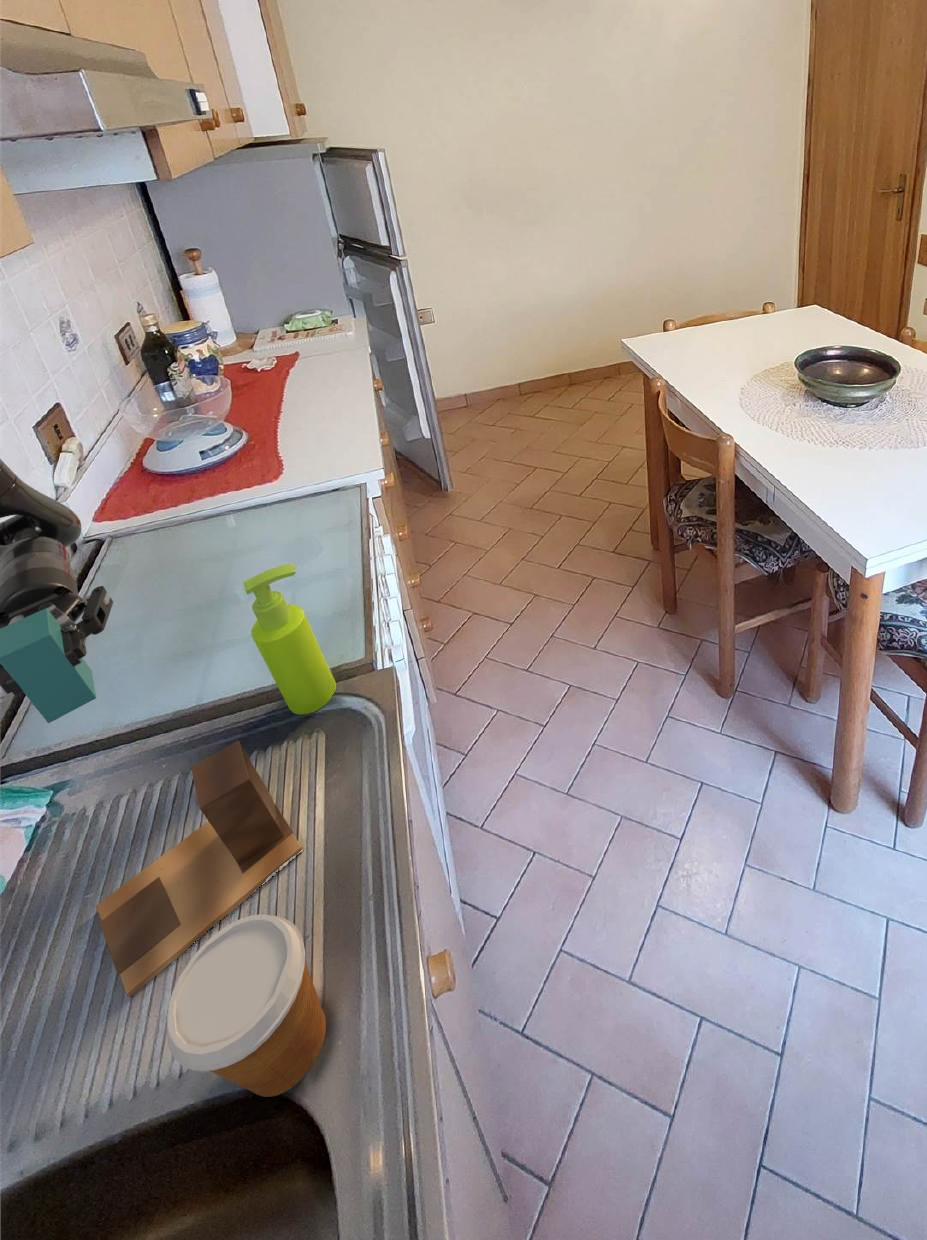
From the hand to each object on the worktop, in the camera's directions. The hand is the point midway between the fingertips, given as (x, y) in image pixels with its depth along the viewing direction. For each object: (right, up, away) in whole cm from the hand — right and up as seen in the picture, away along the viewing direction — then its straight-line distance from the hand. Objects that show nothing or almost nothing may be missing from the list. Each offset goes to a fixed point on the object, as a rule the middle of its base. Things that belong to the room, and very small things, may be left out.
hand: (44, 672), depth 71 cm
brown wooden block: (+22, -17, +1) cm, 28 cm away
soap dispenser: (+20, -10, +17) cm, 28 cm away
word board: (+18, -20, -2) cm, 27 cm away
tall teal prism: (-1, -5, +5) cm, 7 cm away
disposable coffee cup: (+33, -26, -14) cm, 44 cm away
